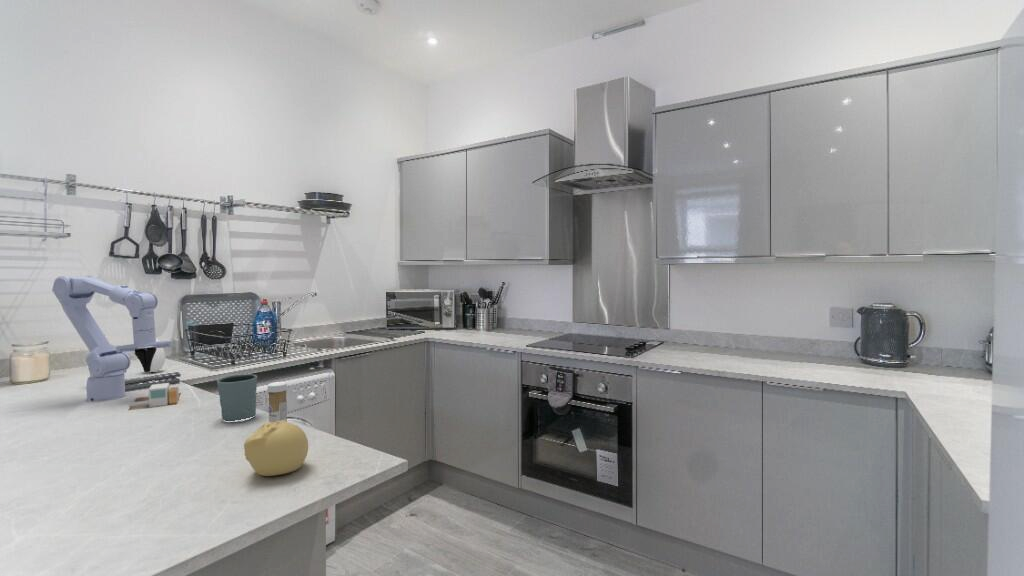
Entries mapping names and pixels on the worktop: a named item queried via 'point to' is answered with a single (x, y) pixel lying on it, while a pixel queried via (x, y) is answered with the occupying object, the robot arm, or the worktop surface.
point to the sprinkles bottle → (277, 401)
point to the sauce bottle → (157, 359)
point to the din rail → (171, 400)
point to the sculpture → (276, 448)
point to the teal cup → (237, 396)
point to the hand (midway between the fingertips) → (147, 371)
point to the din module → (158, 394)
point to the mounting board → (146, 400)
